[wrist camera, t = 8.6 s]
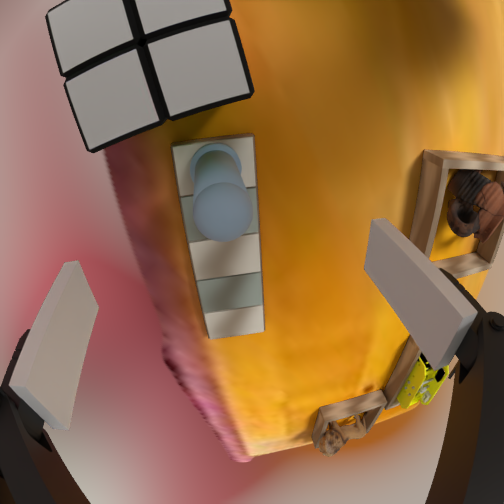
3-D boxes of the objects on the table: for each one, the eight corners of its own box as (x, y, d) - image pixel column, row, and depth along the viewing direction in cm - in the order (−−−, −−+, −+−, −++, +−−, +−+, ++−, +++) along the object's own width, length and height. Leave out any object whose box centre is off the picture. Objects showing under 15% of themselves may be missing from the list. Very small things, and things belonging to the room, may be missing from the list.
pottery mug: (480, 145, 29) (525, 185, 25) (461, 189, 37) (498, 225, 33) (436, 185, 28) (489, 237, 24) (417, 231, 36) (458, 274, 32)
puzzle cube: (207, -10, 17) (212, -57, 9) (237, 91, 23) (258, 97, 15) (94, 30, 17) (41, 12, 9) (126, 128, 23) (87, 157, 15)
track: (252, 133, 25) (254, 136, 24) (263, 323, 38) (265, 331, 36) (171, 143, 24) (170, 146, 23) (208, 331, 37) (208, 340, 36)
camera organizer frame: (456, 318, 47) (466, 330, 44) (421, 382, 59) (427, 393, 56) (410, 334, 46) (419, 349, 43) (379, 398, 58) (385, 410, 55)
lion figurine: (308, 428, 59) (319, 461, 52) (313, 418, 56) (326, 453, 49) (363, 414, 62) (377, 443, 55) (371, 403, 59) (386, 434, 52)
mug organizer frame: (503, 156, 30) (520, 165, 27) (478, 256, 39) (491, 268, 36) (423, 149, 28) (443, 159, 25) (400, 274, 37) (413, 290, 34)
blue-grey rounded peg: (238, 139, 24) (263, 182, 15) (241, 186, 26) (266, 254, 17) (187, 146, 23) (178, 193, 14) (193, 192, 26) (191, 264, 17)
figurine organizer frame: (381, 389, 55) (387, 402, 52) (363, 422, 64) (367, 432, 61) (319, 407, 54) (324, 421, 51) (311, 436, 63) (315, 448, 60)
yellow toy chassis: (411, 379, 57) (427, 407, 50) (390, 388, 56) (405, 417, 49) (432, 334, 48) (454, 366, 41) (408, 343, 48) (429, 378, 41)
